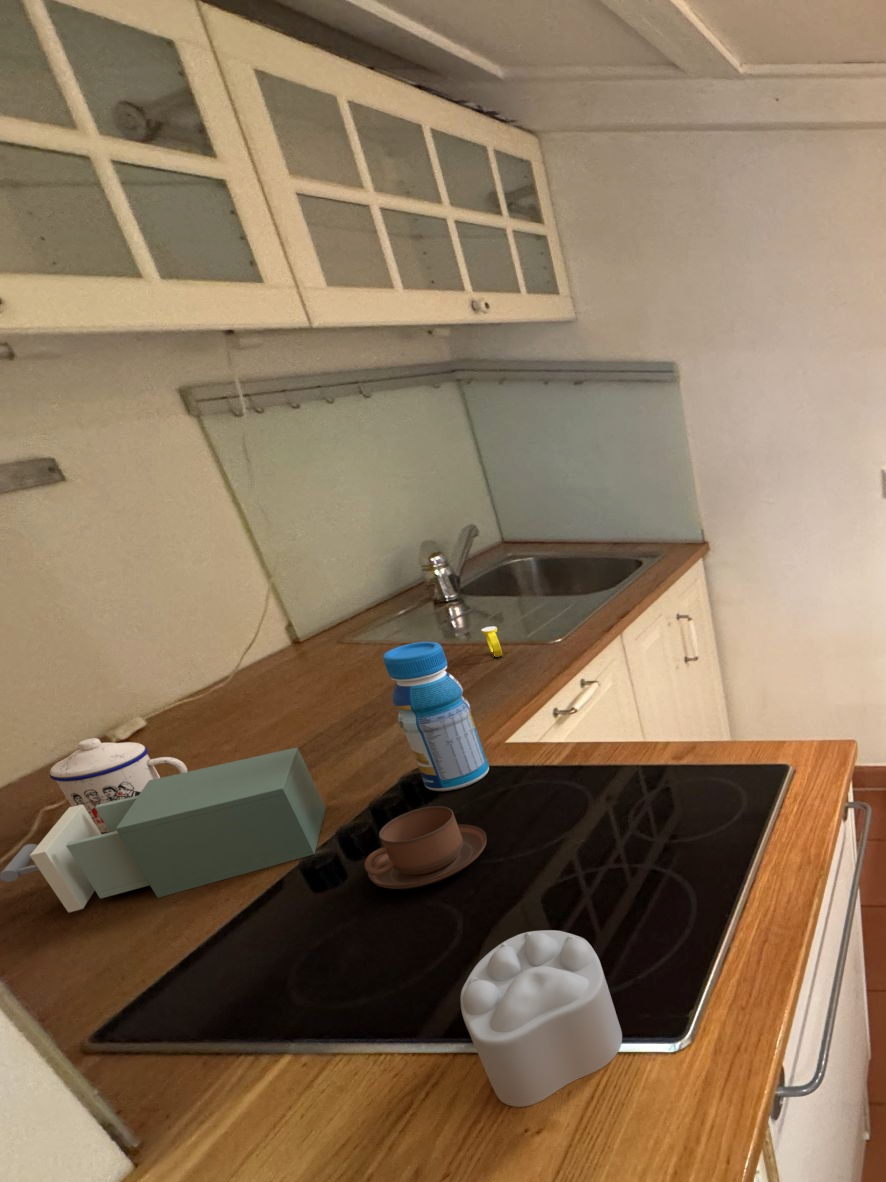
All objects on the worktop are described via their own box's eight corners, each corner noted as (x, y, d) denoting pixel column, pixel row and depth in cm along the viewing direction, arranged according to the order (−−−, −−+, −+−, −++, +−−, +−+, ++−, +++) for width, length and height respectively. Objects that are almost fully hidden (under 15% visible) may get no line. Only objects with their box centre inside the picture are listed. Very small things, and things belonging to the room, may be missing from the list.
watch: (486, 653, 158) (478, 626, 155) (501, 650, 159) (493, 623, 157) (492, 661, 154) (483, 633, 151) (508, 658, 155) (499, 630, 153)
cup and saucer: (438, 903, 85) (420, 858, 83) (347, 894, 87) (326, 850, 85) (512, 840, 96) (498, 798, 93) (429, 834, 98) (413, 793, 96)
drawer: (14, 927, 83) (-28, 869, 80) (54, 873, 92) (18, 818, 88) (225, 869, 91) (195, 814, 88) (244, 825, 100) (217, 773, 97)
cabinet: (157, 898, 88) (115, 828, 84) (185, 844, 98) (148, 780, 94) (314, 854, 95) (282, 788, 91) (326, 808, 105) (297, 747, 101)
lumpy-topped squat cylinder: (501, 1122, 61) (467, 1044, 57) (472, 1022, 70) (442, 949, 66) (634, 1050, 66) (611, 975, 63) (591, 967, 76) (569, 897, 72)
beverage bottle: (472, 792, 107) (425, 659, 99) (411, 795, 107) (358, 663, 99) (502, 762, 115) (460, 637, 106) (444, 765, 115) (398, 640, 106)
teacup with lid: (72, 843, 99) (22, 765, 94) (98, 810, 106) (53, 736, 101) (194, 814, 104) (152, 739, 99) (211, 785, 112) (173, 714, 107)
